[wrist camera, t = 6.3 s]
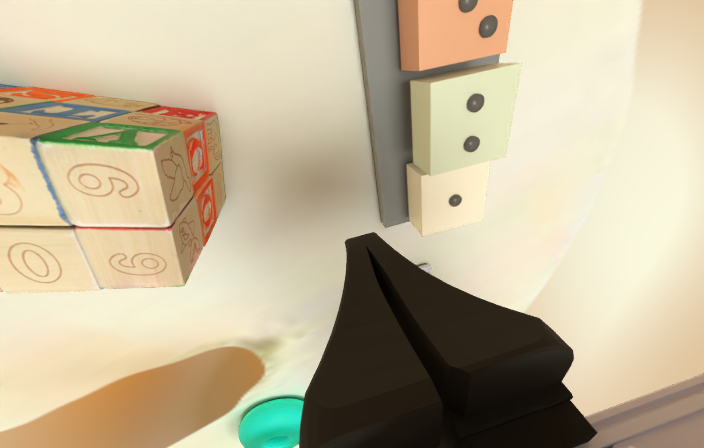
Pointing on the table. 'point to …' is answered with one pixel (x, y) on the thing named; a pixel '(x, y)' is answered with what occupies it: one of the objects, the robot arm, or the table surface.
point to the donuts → (272, 424)
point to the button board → (391, 101)
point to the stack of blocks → (103, 191)
